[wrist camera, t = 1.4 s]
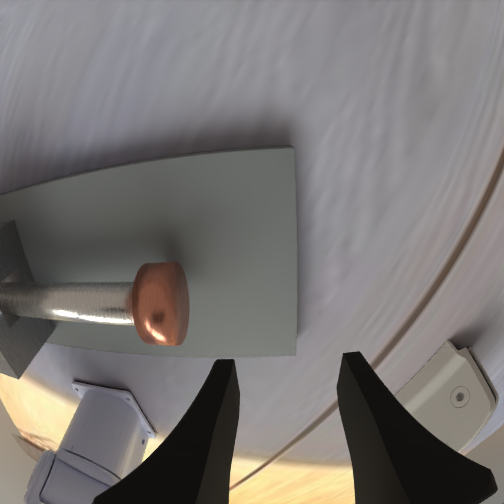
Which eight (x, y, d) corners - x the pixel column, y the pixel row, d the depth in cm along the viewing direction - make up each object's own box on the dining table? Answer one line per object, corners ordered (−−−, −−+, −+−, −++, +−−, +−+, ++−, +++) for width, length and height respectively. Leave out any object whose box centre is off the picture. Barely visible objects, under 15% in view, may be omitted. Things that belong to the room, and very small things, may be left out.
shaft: (193, 312, 18) (177, 363, 14) (31, 306, 19) (2, 338, 15) (180, 247, 16) (155, 291, 12) (11, 258, 17) (-23, 287, 13)
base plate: (294, 341, 22) (296, 355, 20) (32, 329, 23) (25, 338, 22) (291, 145, 16) (294, 148, 14) (-16, 200, 17) (-27, 205, 16)
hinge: (449, 337, 21) (508, 414, 13) (464, 336, 24) (516, 402, 15) (347, 435, 28) (380, 500, 20) (371, 427, 30) (404, 486, 22)
